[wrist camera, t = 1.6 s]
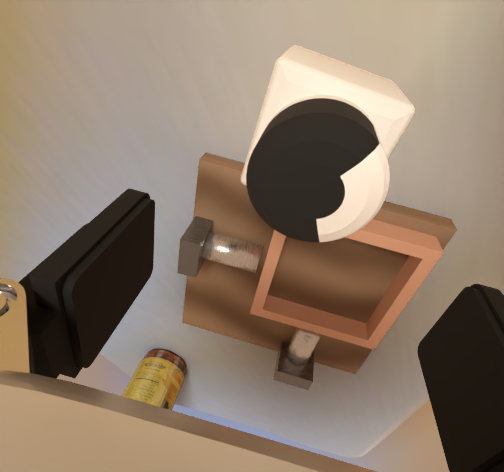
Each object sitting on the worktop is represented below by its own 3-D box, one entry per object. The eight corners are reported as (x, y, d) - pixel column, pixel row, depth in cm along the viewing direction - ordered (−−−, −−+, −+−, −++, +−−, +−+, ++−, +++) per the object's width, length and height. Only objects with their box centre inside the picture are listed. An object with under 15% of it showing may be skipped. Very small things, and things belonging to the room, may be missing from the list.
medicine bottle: (259, 144, 25) (213, 229, 16) (292, 42, 21) (257, 71, 11) (346, 176, 25) (354, 281, 16) (396, 81, 21) (449, 143, 11)
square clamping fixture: (205, 152, 26) (182, 179, 22) (451, 219, 26) (473, 259, 21) (187, 312, 38) (169, 349, 34) (354, 362, 37) (357, 405, 33)
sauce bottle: (183, 379, 47) (106, 571, 31) (142, 363, 47) (43, 548, 31) (194, 356, 43) (112, 561, 27) (149, 338, 43) (40, 535, 27)
